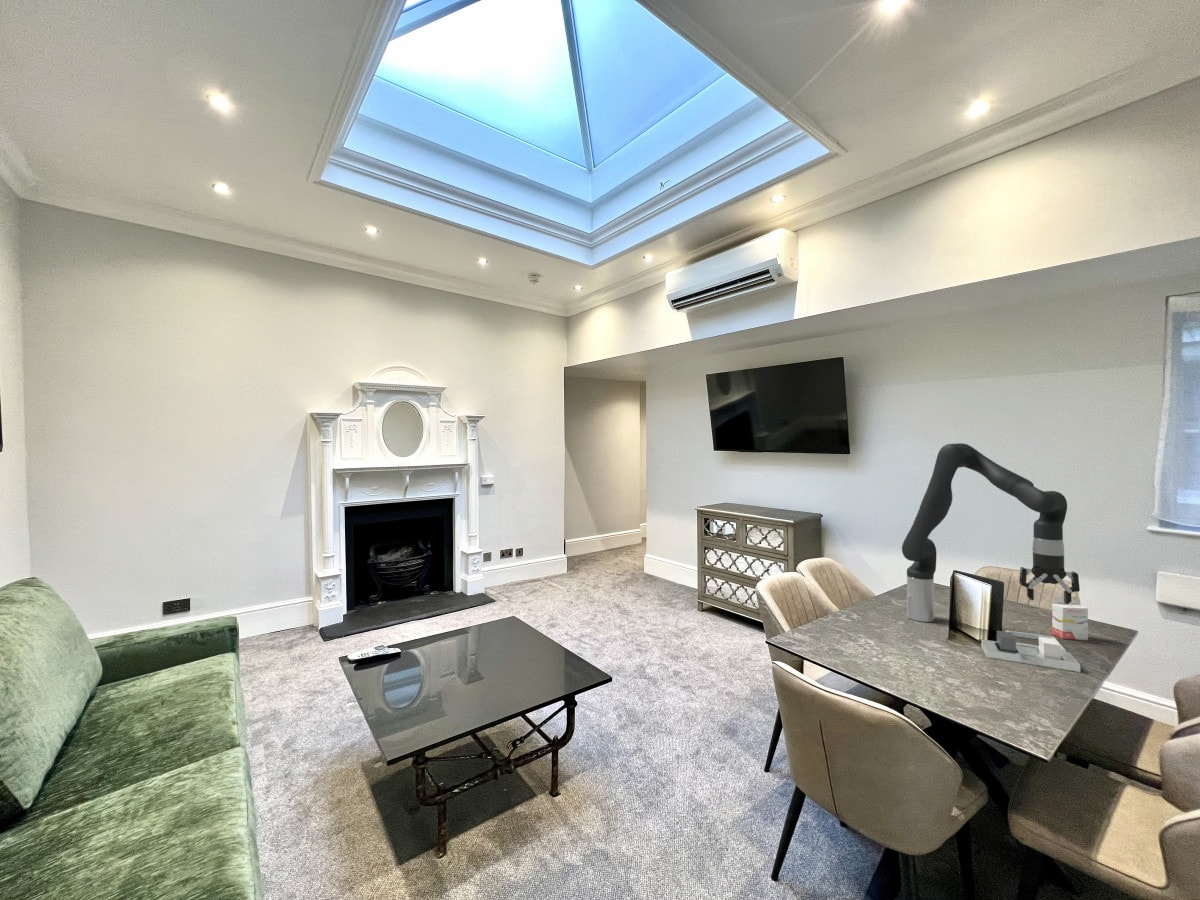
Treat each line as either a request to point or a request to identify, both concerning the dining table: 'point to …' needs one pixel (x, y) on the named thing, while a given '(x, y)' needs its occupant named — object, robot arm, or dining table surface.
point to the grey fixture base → (1025, 653)
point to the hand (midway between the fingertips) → (1048, 601)
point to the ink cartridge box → (1069, 619)
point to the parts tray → (1033, 636)
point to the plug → (1049, 648)
